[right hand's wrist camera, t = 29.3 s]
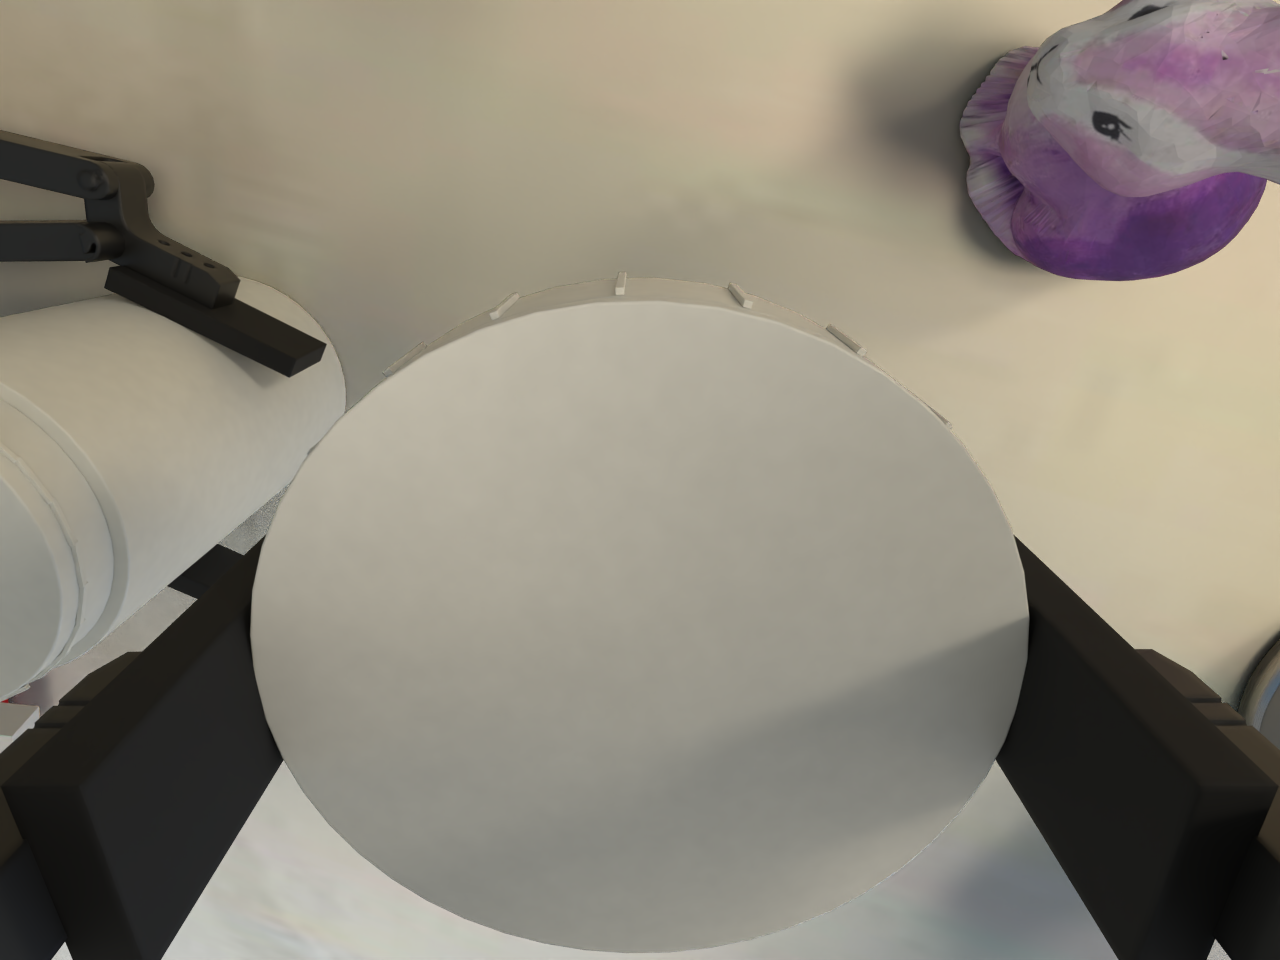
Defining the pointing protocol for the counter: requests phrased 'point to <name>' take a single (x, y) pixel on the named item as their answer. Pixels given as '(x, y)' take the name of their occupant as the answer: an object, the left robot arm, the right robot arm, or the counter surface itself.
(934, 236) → the counter surface
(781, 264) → the counter surface
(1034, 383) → the counter surface
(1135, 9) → the figurine
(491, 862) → the lid
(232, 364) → the jar
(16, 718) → the toy
